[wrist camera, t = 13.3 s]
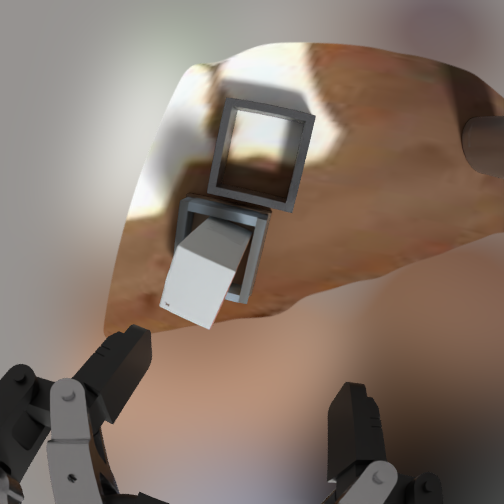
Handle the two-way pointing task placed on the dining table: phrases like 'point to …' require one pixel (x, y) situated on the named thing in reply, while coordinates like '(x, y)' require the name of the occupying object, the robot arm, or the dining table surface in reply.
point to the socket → (224, 145)
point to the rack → (244, 216)
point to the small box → (204, 270)
